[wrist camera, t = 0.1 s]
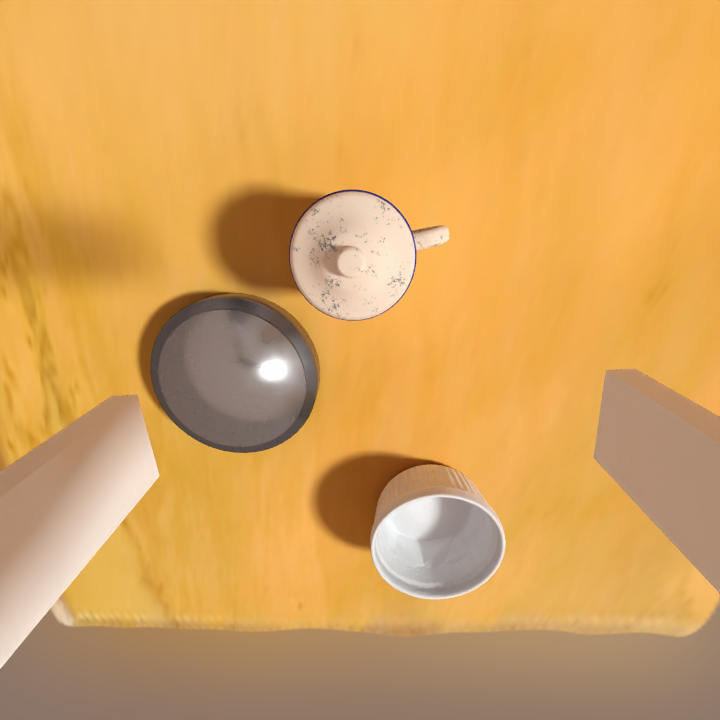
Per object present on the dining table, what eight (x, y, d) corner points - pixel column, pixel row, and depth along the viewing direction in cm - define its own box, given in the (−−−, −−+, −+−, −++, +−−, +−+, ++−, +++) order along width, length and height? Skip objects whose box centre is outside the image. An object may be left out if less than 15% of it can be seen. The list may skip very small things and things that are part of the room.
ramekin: (485, 447, 43) (505, 487, 37) (489, 543, 48) (508, 595, 41) (363, 459, 44) (361, 502, 38) (378, 553, 49) (379, 605, 42)
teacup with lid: (321, 308, 39) (301, 344, 28) (295, 209, 36) (261, 206, 25) (445, 280, 37) (476, 306, 26) (429, 176, 35) (456, 157, 24)
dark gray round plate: (141, 307, 39) (122, 313, 36) (301, 280, 38) (296, 285, 35) (190, 448, 44) (178, 464, 41) (333, 429, 43) (330, 444, 40)
